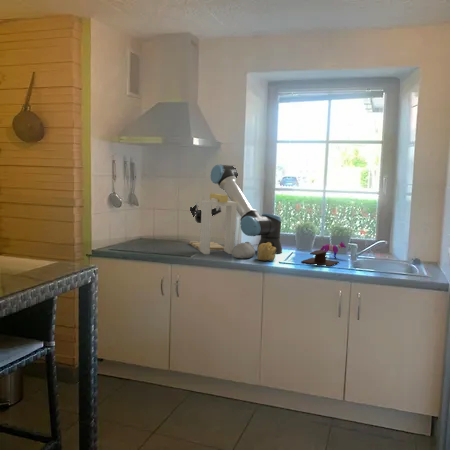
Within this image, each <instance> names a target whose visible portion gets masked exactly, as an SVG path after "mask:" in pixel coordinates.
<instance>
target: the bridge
mask: <svg viewBox="0 0 450 450" xmlns="http://www.w3.org/2000/svg"><path fill="white" fill-rule="evenodd" d="M201 205H202V211H201V229H200V236H199V237H200V238H199V241H200V250H199V252H200V253H202V254H203V255H210V254H211V253H210V252H211V250H210V241H211V230H212V229H211V227H212V226H211V225H212V217H211V210H212V205H220V207H221V206H224V207H225V220H224V221H225V222H224V223H225V225H224V238H223V239H224V241H223V243H224V244H223V247H224V250H223V252H225V253H226V254H229V255H233V254H232V250H233V249H234V248H235V246H236V244H235V243H236V224H237V210H236V209H237V202H232V201H231V200H230V201H229V200H228V203H223V202H218V199H215V198H211V201H209V200H205V199H204V200H203V199H202V200H201Z"/></svg>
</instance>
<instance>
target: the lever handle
mask: <svg viewBox="0 0 450 450" xmlns="http://www.w3.org/2000/svg"><path fill="white" fill-rule="evenodd" d="M309 254H310V255H313V256H314V257H310V258H307V259H304V260H301V262H300V263H301V264H304V263H306V265H311V264H317V265H326V266H332V265H334V264H336V265H338V264H337V263H339V264H340V261H338V260H331V259H327V252H326V251H322V250H320V249H319V250H318V249H317V250H314V251H312V252H310V253H309ZM325 256H326V257H325ZM317 265H316V266H317ZM334 266H335V265H334ZM332 267H333V266H332Z"/></svg>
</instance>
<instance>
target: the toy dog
mask: <svg viewBox="0 0 450 450" xmlns="http://www.w3.org/2000/svg"><path fill="white" fill-rule="evenodd" d="M345 248H347V246H346V245H345V244H344V242H343V240H342V241H341V242H340V243H339V244H336V245H335V244H323V246H322V247H321V248H320V249H319V250H322V251H326V253H328V252H333V258H334V257H335V258H334V259H336V258H337V253H338V252H339V251H340V250H341V249H345Z"/></svg>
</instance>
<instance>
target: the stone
mask: <svg viewBox="0 0 450 450" xmlns="http://www.w3.org/2000/svg"><path fill="white" fill-rule="evenodd" d="M257 247H258V251H257V254H256V256H257V257H256V258H257V260H258V261H263V262H264V261H265V262H267V261H274V260H276V259H275V258H276V254H275V252H276V248H275V247H273V246H272V244H271V243H270V242H267V243H262V244H260V245H259V246H258V245H257Z"/></svg>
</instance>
